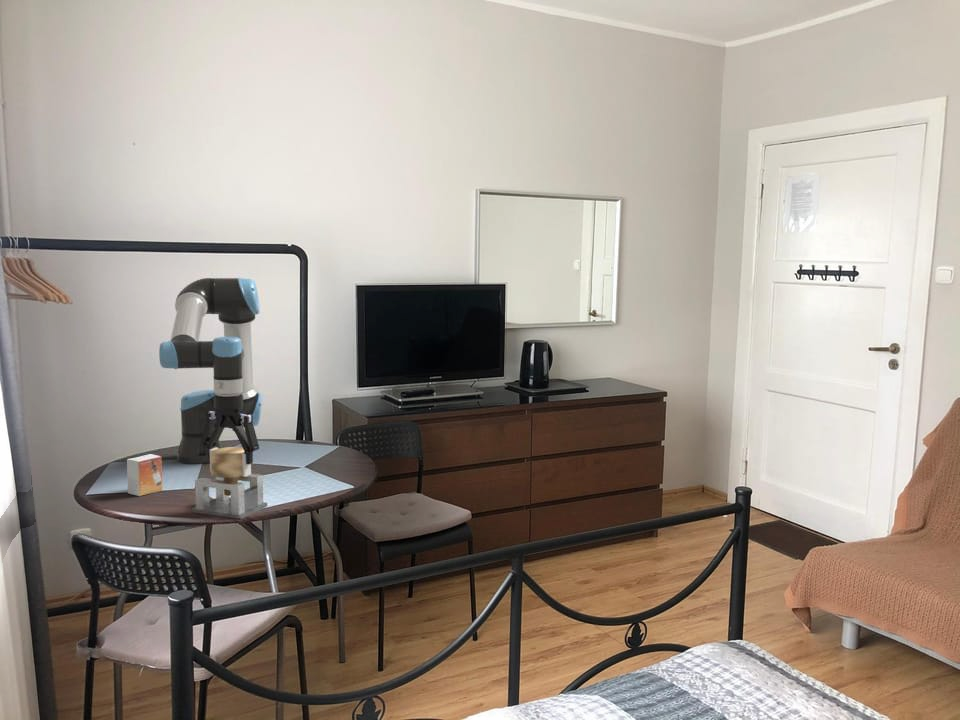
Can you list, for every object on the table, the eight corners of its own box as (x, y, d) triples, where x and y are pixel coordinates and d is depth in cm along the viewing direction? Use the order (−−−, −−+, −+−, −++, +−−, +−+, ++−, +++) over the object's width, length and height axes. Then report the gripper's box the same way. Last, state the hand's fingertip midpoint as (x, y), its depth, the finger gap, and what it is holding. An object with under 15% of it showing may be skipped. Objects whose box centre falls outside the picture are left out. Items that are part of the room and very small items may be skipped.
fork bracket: (191, 512, 215) (190, 480, 214) (220, 499, 226) (219, 469, 225) (241, 519, 210) (240, 486, 209) (267, 506, 221) (266, 475, 220)
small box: (139, 497, 228) (137, 461, 226) (127, 493, 231) (126, 458, 229) (163, 490, 235) (162, 456, 233) (151, 487, 237) (150, 453, 236)
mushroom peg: (204, 496, 214) (202, 453, 213) (227, 486, 223) (226, 445, 222) (234, 500, 211) (233, 457, 209) (257, 490, 220) (256, 448, 219)
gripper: (185, 393, 214) (187, 472, 217) (255, 399, 206) (257, 481, 209) (203, 388, 221) (205, 465, 224) (271, 394, 213) (273, 474, 216)
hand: (230, 473), depth 216 cm, fingers closed on mushroom peg, 10 cm apart
